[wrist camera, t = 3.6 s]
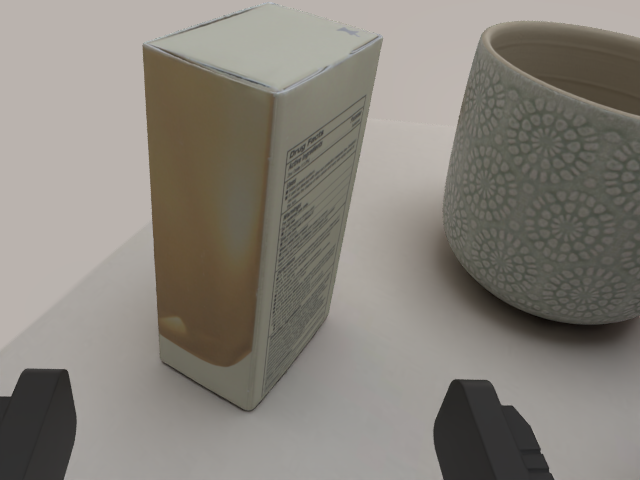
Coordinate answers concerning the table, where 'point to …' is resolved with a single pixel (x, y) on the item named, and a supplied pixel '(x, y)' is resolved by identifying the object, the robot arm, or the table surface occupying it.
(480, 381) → the robot arm
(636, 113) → the planter
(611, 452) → the table surface
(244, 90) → the cosmetic box
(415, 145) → the table surface
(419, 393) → the table surface
